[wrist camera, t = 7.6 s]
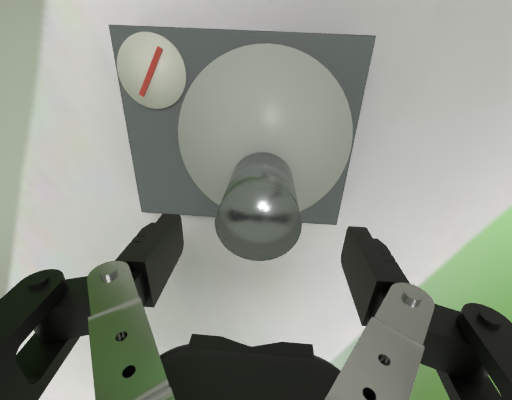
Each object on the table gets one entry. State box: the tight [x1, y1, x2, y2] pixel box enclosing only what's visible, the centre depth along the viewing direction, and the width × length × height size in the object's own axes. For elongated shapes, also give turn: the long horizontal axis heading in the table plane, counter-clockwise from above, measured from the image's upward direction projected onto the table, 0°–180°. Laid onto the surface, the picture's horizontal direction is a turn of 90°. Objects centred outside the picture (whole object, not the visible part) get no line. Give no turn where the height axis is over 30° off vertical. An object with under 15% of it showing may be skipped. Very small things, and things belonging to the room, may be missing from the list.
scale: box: [109, 25, 376, 225], centre depth 19 cm, size 16×13×4 cm
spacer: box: [215, 152, 301, 261], centre depth 16 cm, size 4×4×6 cm
